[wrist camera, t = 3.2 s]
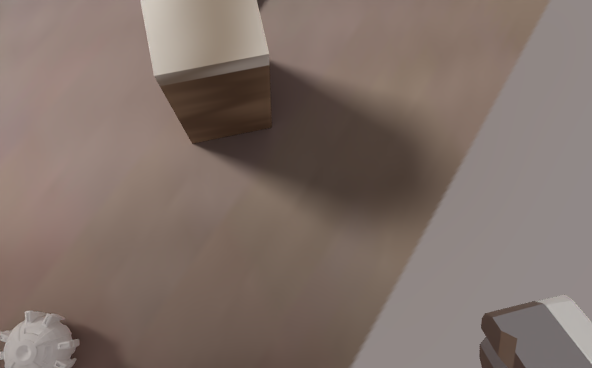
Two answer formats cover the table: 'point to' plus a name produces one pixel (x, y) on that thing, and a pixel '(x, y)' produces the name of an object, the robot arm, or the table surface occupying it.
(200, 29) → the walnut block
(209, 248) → the table surface
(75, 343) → the game pieces
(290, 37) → the table surface
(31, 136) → the table surface
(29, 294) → the table surface
